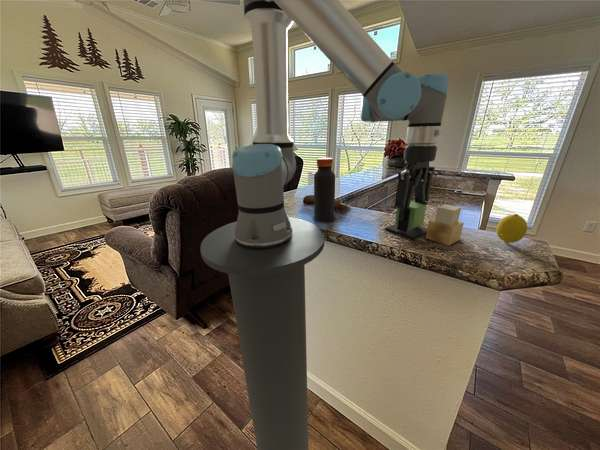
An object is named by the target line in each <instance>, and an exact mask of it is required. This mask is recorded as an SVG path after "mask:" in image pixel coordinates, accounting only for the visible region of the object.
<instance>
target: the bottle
mask: <svg viewBox="0 0 600 450" xmlns="http://www.w3.org/2000/svg"><path fill="white" fill-rule="evenodd" d="M333 163H334V159H333V158H332V157H318V158H316V166H317V167H316V168H317V171H316V172H315V173H314V175H313V195H314V205H313V217H314V218H313V219H314V220H315V221H317V222H322V223H327V222H332V221H333V220H334V219H335V210H334V203H335V199H336V198H335V197H336V174H335V173H334V171H333V170H332V168H333Z"/></svg>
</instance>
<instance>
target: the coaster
mask: <svg viewBox="0 0 600 450" xmlns="http://www.w3.org/2000/svg"><path fill="white" fill-rule="evenodd" d="M397 226H398V224H396V223H394V224H391V225H389V226H386V227H385V228H384V230H386V231H388V232H392V233H394V234H397V235H400V236H402V237H405V238H408V239H410V240H415V239H417V238H419V237H421V236H424V235H426V233H427V228H428V227H424V226H422V225H421V226H419V227H416V228H413V229H411V228H408V229H407V232H404V231H401V230H398V229H397Z"/></svg>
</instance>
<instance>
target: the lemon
mask: <svg viewBox="0 0 600 450" xmlns="http://www.w3.org/2000/svg"><path fill="white" fill-rule="evenodd" d="M527 230H528V224H527V221H526V219H525V218H523V217H522V216H521V215H519V214H518V213H513V214H508V215H505V216H504V217H502V218H501V219H500V220H499V222H498V223H497V226H496V235H497V237H498V238H499V239H500V240H501V241H503V242H504V244H511V243H517V242H519V241H521V240H522V239H523V238H524V237H525V236H526V233H527ZM501 234H502V235H501Z"/></svg>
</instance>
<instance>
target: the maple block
mask: <svg viewBox="0 0 600 450" xmlns="http://www.w3.org/2000/svg"><path fill="white" fill-rule="evenodd" d="M427 223H428V224H427V227H426V228H427V233H426V234H425V239H427V240H430V241H433V242H435V243H439V244H442V245H444V246H447V247H449V246H451V245H452V244H455V243H457V242H458V241H460V240H461V236H462V231H463V228H464V221H459V220H458V222H457V223H455V224H453V225H451V226H450V225H446V224H442V223H439V222H435V218H433V219H430V220H429V221H428V222H427Z"/></svg>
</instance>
